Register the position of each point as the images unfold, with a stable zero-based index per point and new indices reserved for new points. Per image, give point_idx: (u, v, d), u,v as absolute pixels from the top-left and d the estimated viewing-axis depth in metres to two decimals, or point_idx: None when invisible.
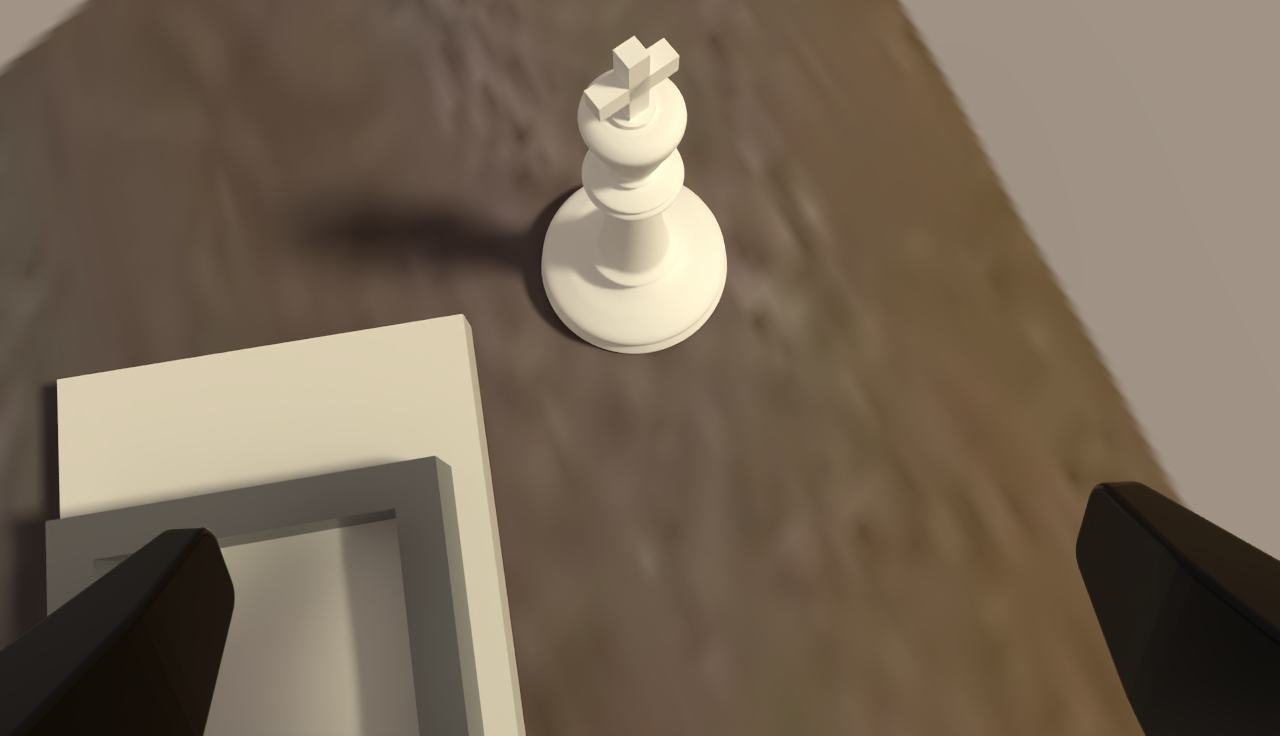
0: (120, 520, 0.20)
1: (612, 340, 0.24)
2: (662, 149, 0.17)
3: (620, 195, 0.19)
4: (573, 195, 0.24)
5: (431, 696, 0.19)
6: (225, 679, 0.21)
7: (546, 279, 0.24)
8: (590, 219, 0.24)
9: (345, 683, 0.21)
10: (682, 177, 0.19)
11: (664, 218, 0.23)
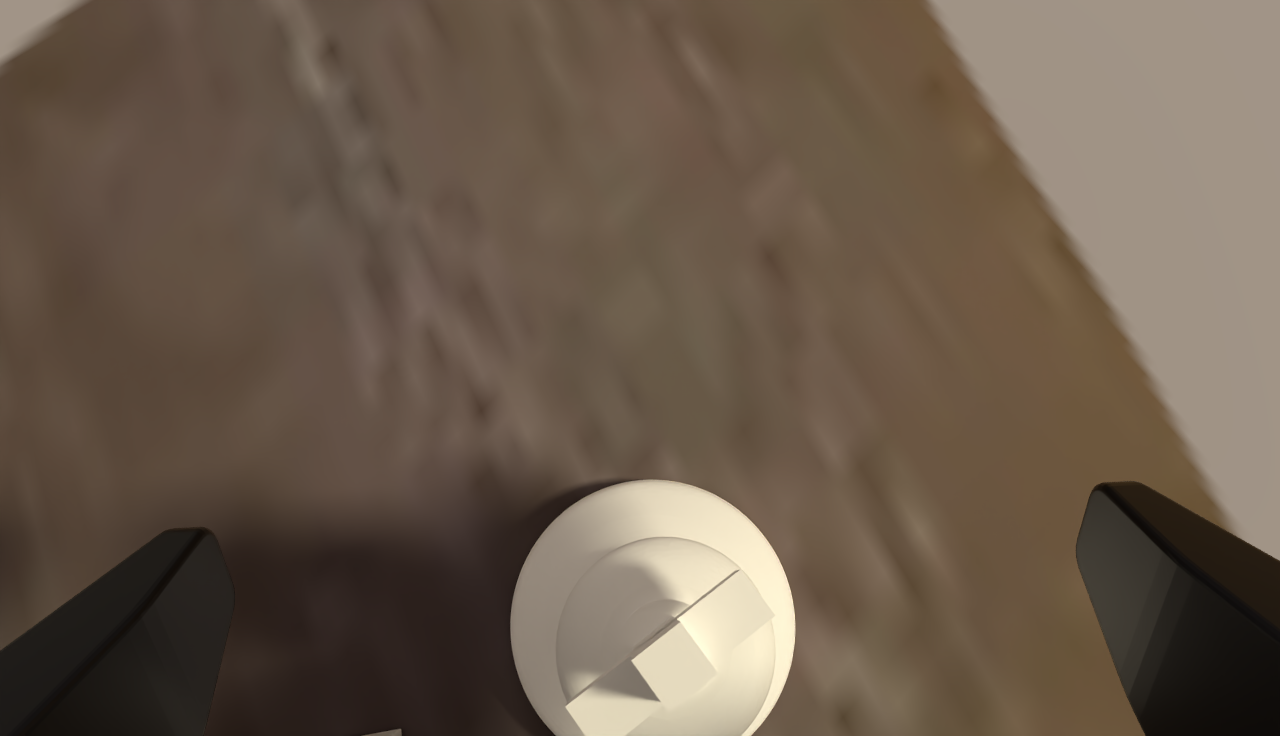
0: None
1: None
2: None
3: None
4: (559, 522, 0.16)
5: None
6: None
7: (516, 664, 0.15)
8: (584, 572, 0.15)
9: None
10: None
11: None
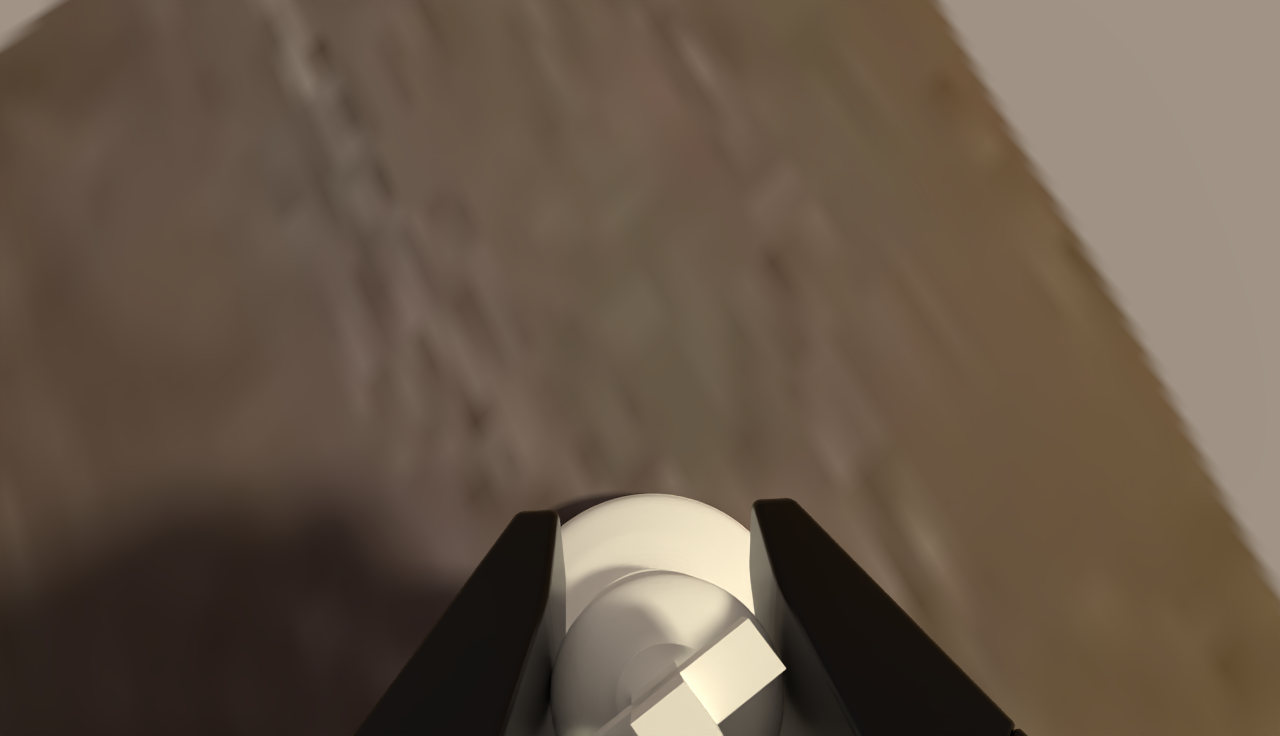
0: None
1: None
2: None
3: None
4: None
5: None
6: None
7: None
8: (582, 592, 0.15)
9: None
10: None
11: None
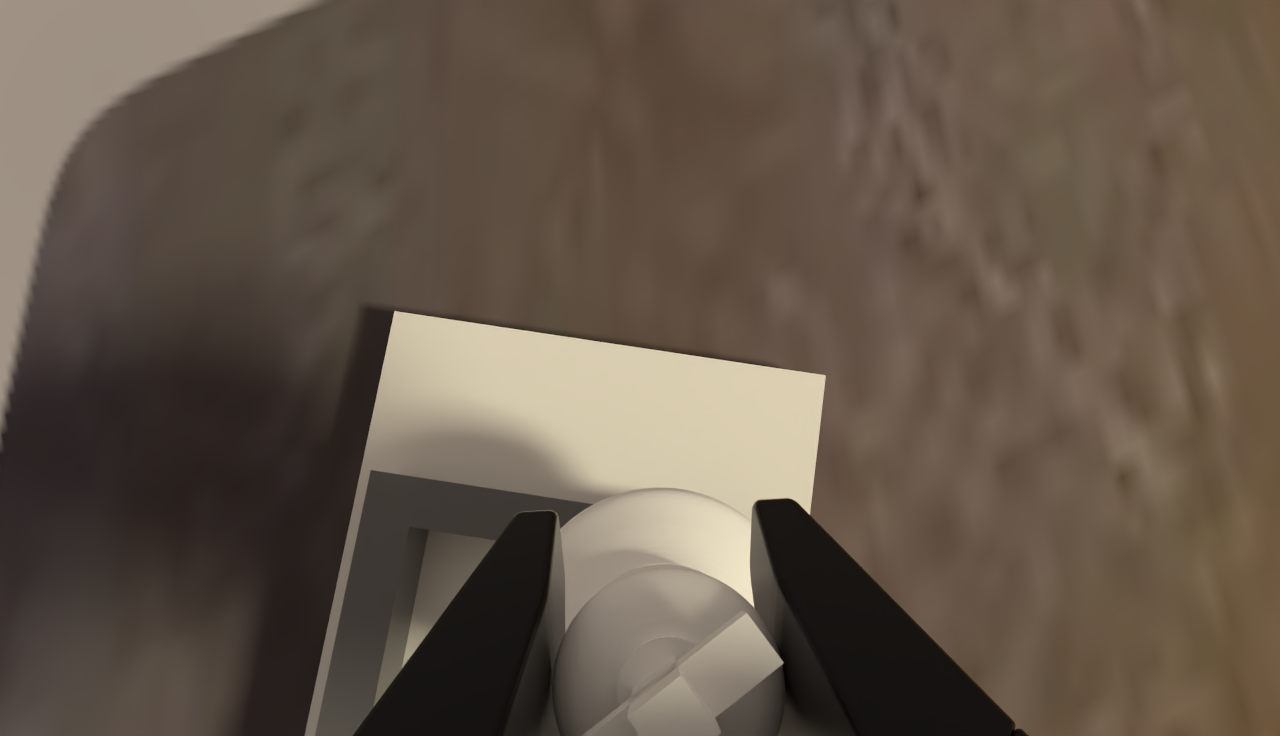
0: (445, 494, 0.19)
1: None
2: None
3: None
4: (564, 532, 0.15)
5: None
6: None
7: None
8: (590, 585, 0.15)
9: None
10: None
11: None
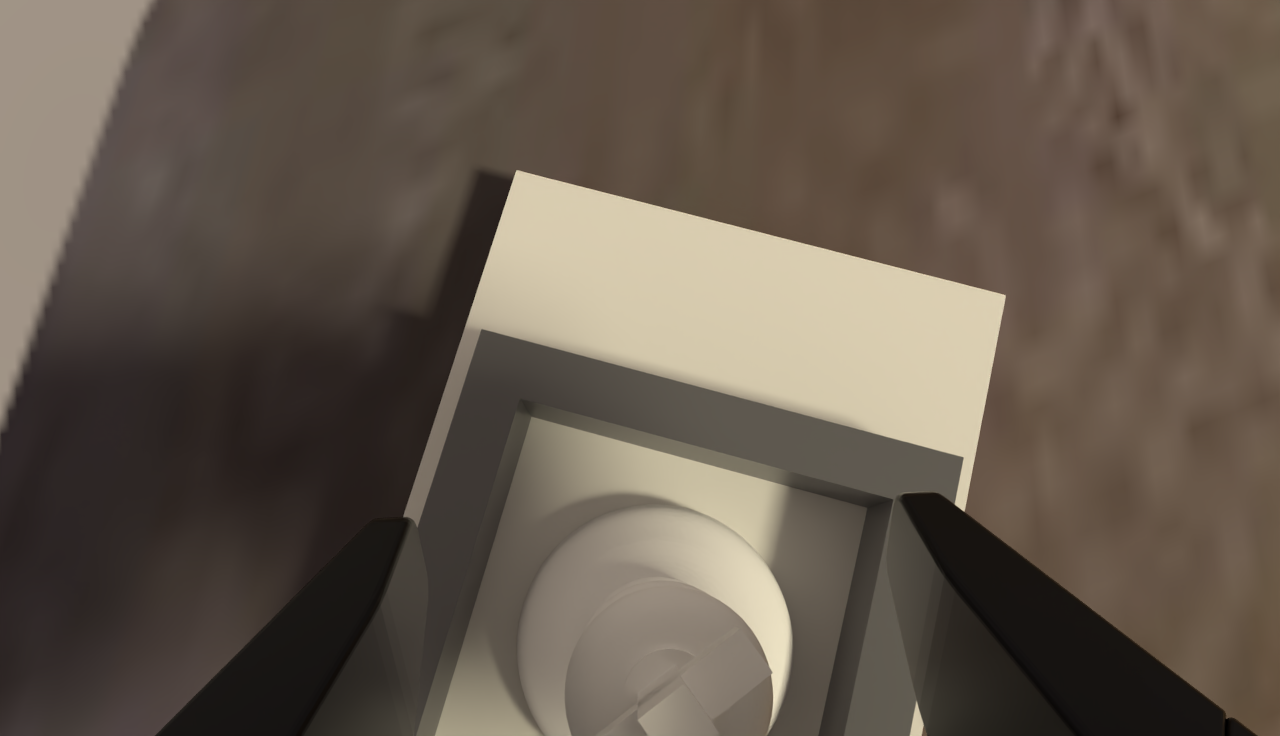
0: (565, 366, 0.16)
1: None
2: None
3: None
4: (564, 546, 0.16)
5: None
6: None
7: (523, 685, 0.16)
8: (589, 597, 0.16)
9: None
10: None
11: None
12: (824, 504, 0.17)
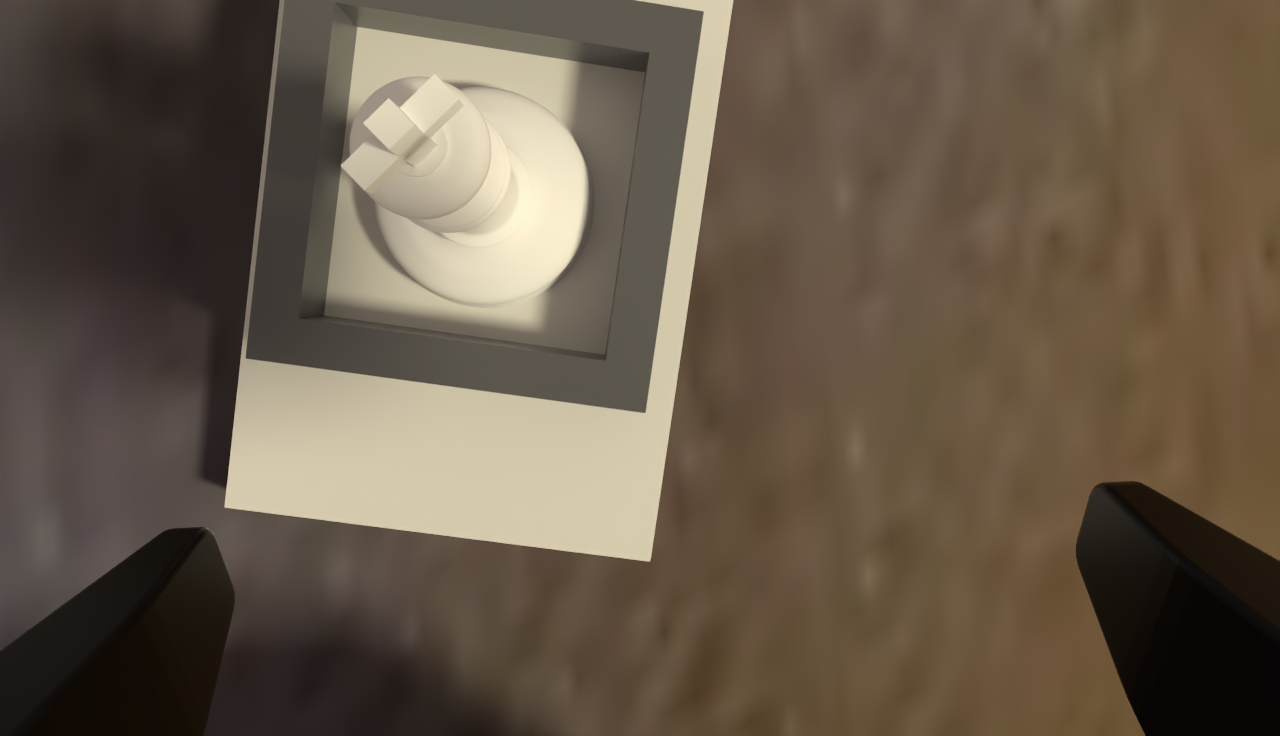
0: None
1: (471, 302, 0.21)
2: (464, 195, 0.13)
3: None
4: None
5: (637, 246, 0.20)
6: None
7: (384, 238, 0.20)
8: None
9: None
10: (508, 169, 0.16)
11: None
12: (609, 73, 0.21)
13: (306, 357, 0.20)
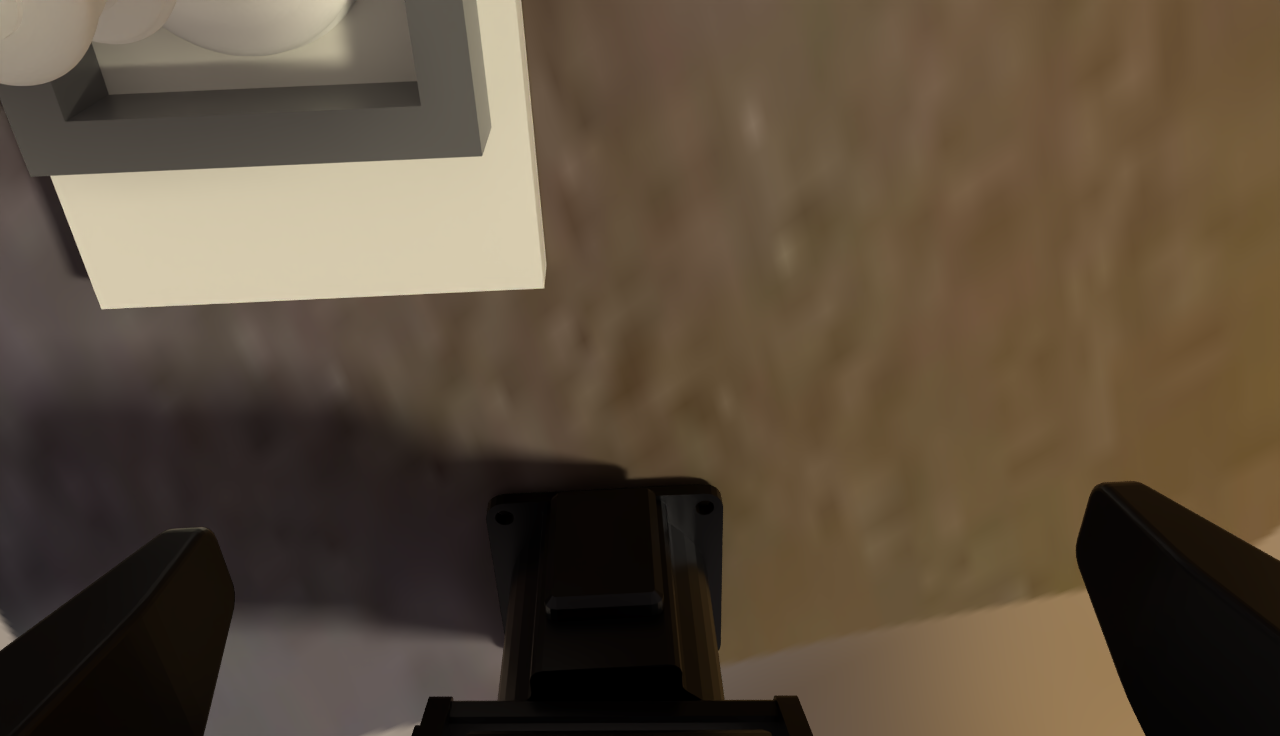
0: None
1: (258, 54, 0.18)
2: (72, 46, 0.10)
3: None
4: None
5: None
6: None
7: None
8: None
9: None
10: None
11: None
12: None
13: (93, 163, 0.17)
